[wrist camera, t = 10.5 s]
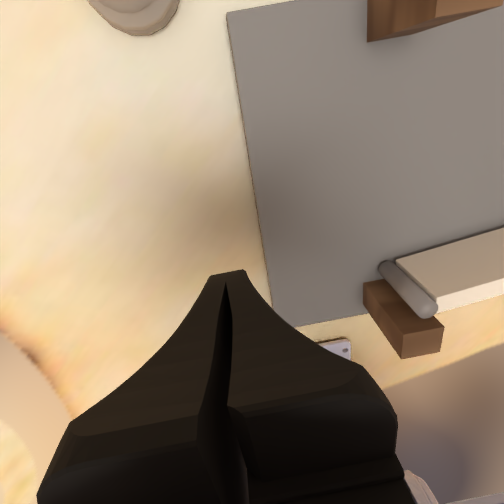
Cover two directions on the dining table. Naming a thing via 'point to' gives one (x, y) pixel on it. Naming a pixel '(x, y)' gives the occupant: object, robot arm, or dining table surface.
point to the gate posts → (380, 291)
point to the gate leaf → (449, 274)
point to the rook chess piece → (136, 14)
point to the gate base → (365, 144)
